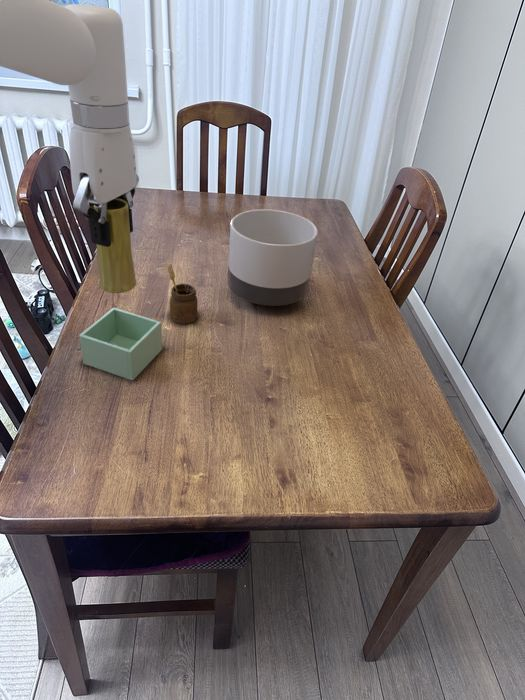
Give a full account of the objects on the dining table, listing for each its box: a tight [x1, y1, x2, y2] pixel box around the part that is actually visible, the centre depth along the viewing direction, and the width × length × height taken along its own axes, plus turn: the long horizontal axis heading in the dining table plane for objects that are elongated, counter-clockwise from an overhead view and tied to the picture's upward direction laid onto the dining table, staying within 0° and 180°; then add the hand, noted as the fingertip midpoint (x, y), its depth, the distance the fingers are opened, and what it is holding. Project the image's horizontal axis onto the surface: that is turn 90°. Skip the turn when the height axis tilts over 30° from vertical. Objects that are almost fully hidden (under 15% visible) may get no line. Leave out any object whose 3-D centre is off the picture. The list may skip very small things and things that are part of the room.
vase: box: [94, 198, 137, 294], centre depth 79 cm, size 6×6×14 cm
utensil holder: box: [167, 263, 198, 325], centre depth 103 cm, size 6×6×12 cm
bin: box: [78, 307, 163, 381], centre depth 92 cm, size 11×11×7 cm
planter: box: [226, 208, 319, 307], centre depth 112 cm, size 19×19×18 cm
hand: (112, 236), depth 78 cm, fingers closed on vase, 5 cm apart
